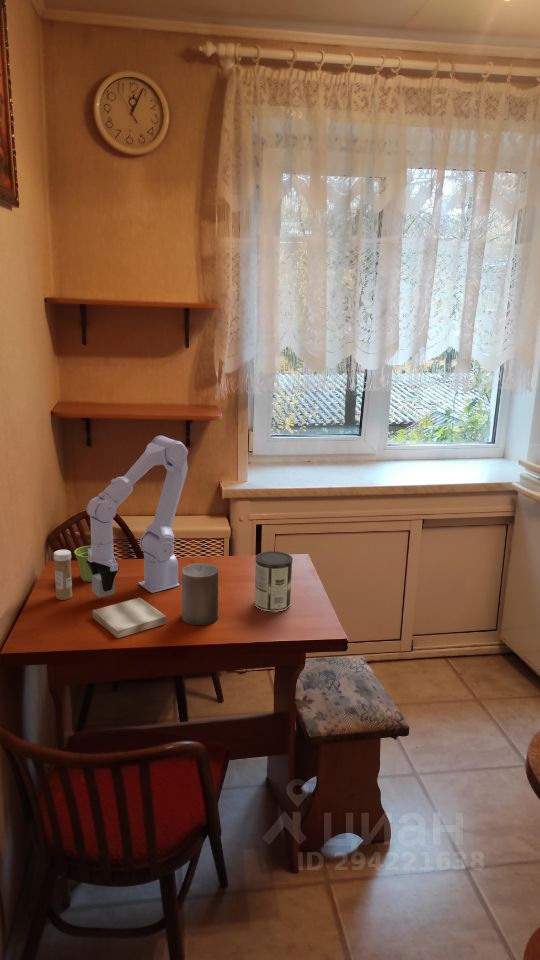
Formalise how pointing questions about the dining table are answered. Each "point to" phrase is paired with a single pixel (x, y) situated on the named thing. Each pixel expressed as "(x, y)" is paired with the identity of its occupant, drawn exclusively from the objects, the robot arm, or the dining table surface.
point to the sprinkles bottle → (63, 574)
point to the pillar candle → (200, 594)
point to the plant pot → (84, 563)
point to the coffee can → (273, 581)
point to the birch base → (129, 617)
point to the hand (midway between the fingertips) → (103, 587)
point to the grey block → (100, 586)
